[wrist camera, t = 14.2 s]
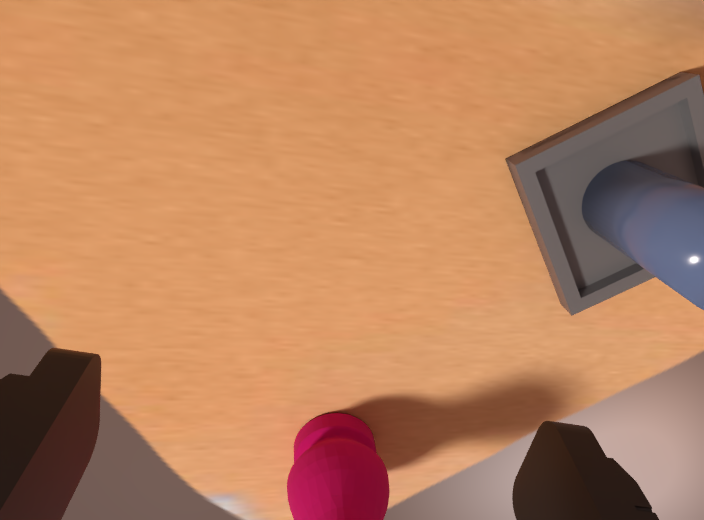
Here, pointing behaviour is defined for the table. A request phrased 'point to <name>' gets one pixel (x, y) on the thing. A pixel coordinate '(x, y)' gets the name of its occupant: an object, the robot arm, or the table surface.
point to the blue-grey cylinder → (651, 222)
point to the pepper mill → (337, 472)
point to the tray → (586, 162)
